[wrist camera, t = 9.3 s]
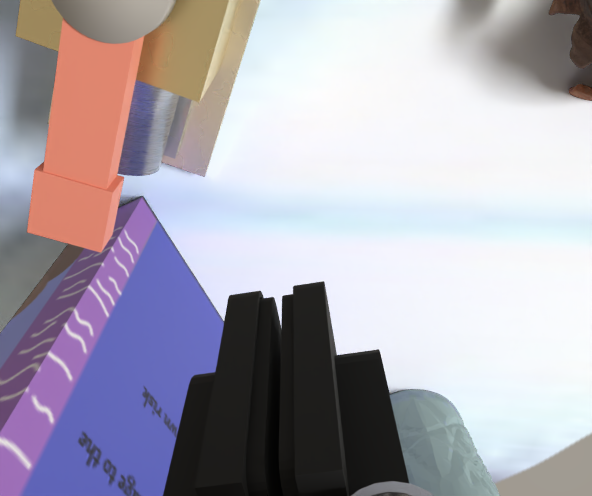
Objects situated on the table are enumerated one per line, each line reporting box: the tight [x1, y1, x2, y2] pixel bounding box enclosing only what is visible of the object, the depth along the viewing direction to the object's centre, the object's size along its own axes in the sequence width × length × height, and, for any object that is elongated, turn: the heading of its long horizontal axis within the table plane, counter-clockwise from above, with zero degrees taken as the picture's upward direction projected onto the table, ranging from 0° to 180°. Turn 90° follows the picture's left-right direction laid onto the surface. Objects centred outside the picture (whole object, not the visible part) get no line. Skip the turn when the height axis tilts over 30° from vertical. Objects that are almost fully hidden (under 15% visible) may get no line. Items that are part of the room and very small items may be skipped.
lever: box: [27, 0, 176, 252], centre depth 22 cm, size 13×4×2 cm, turn 162°
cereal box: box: [0, 196, 224, 496], centre depth 31 cm, size 17×5×24 cm, turn 25°
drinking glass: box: [390, 390, 500, 496], centre depth 43 cm, size 10×10×12 cm
